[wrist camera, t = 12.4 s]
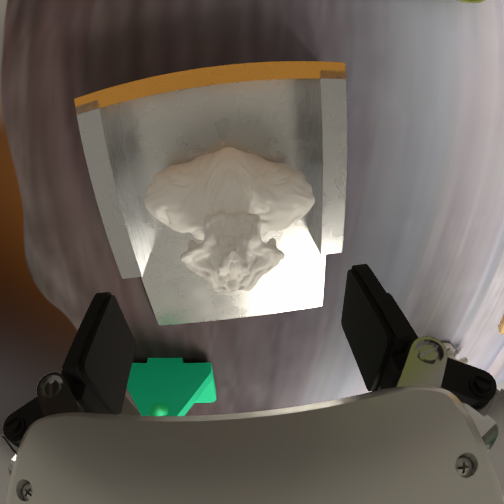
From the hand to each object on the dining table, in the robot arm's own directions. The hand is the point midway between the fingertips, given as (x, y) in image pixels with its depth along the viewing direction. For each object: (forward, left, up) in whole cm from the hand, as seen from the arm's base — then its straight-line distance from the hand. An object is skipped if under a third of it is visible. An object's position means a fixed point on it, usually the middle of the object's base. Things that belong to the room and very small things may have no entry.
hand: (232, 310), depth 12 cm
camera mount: (+11, +25, -16) cm, 32 cm away
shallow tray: (0, +3, -16) cm, 16 cm away
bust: (0, 0, -15) cm, 15 cm away
